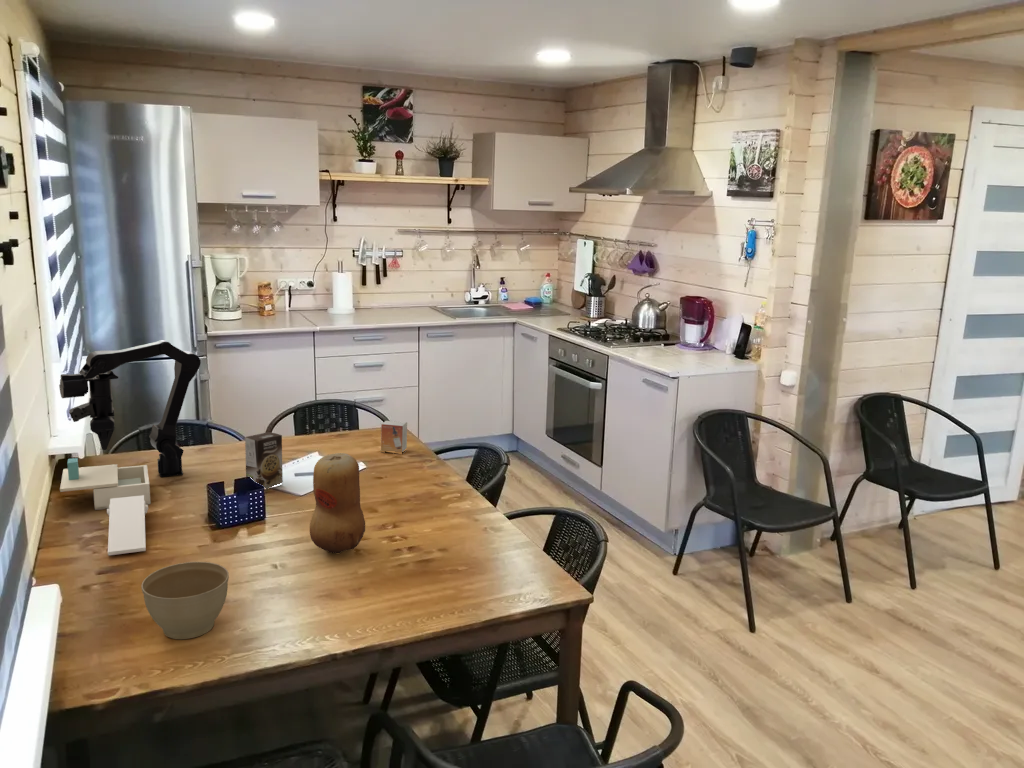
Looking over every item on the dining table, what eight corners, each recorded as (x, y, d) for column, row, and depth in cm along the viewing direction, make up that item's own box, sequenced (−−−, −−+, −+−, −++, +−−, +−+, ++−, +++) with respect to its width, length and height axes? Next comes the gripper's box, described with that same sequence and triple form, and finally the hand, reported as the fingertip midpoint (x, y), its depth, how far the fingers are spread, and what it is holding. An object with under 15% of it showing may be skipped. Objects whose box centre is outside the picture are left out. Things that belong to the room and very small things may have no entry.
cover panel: (117, 466, 238) (116, 447, 237) (117, 485, 222) (116, 465, 221) (63, 471, 232) (62, 452, 230) (60, 491, 216) (58, 471, 215)
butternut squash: (298, 555, 197) (296, 458, 192) (329, 536, 210) (328, 444, 204) (346, 566, 192) (346, 467, 187) (375, 546, 205) (376, 452, 199)
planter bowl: (181, 603, 172) (179, 556, 170) (246, 616, 167) (245, 568, 165) (126, 640, 157) (122, 589, 154) (196, 656, 152) (193, 603, 150)
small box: (380, 452, 282) (380, 423, 280) (385, 448, 288) (385, 420, 286) (402, 454, 281) (402, 425, 279) (407, 450, 287) (407, 421, 284)
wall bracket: (146, 574, 197) (144, 519, 221) (152, 548, 196) (150, 495, 220) (101, 571, 193) (104, 515, 216) (107, 544, 191) (110, 491, 215)
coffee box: (258, 492, 239) (256, 440, 235) (245, 487, 243) (243, 436, 239) (283, 485, 246) (282, 434, 243) (270, 480, 250) (269, 430, 246)
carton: (147, 483, 243) (146, 464, 241) (150, 503, 227) (149, 483, 226) (95, 489, 236) (94, 469, 235) (94, 510, 221) (93, 489, 219)
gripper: (71, 389, 240) (75, 439, 243) (68, 403, 224) (72, 457, 227) (112, 387, 245) (116, 436, 248) (112, 400, 229) (116, 453, 232)
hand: (104, 445), depth 239 cm, fingers open, 9 cm apart
